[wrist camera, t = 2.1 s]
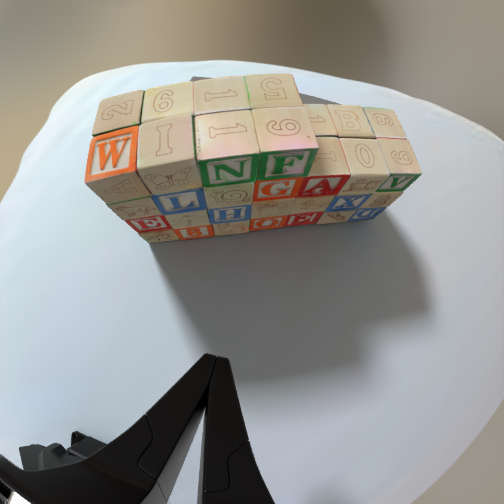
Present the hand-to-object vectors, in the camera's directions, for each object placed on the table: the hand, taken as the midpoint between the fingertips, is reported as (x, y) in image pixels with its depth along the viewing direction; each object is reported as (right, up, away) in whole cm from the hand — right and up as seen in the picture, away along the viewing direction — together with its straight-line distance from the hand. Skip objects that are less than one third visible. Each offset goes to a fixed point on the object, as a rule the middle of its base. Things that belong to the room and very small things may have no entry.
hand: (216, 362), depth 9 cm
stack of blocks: (+2, +9, +17) cm, 19 cm away
